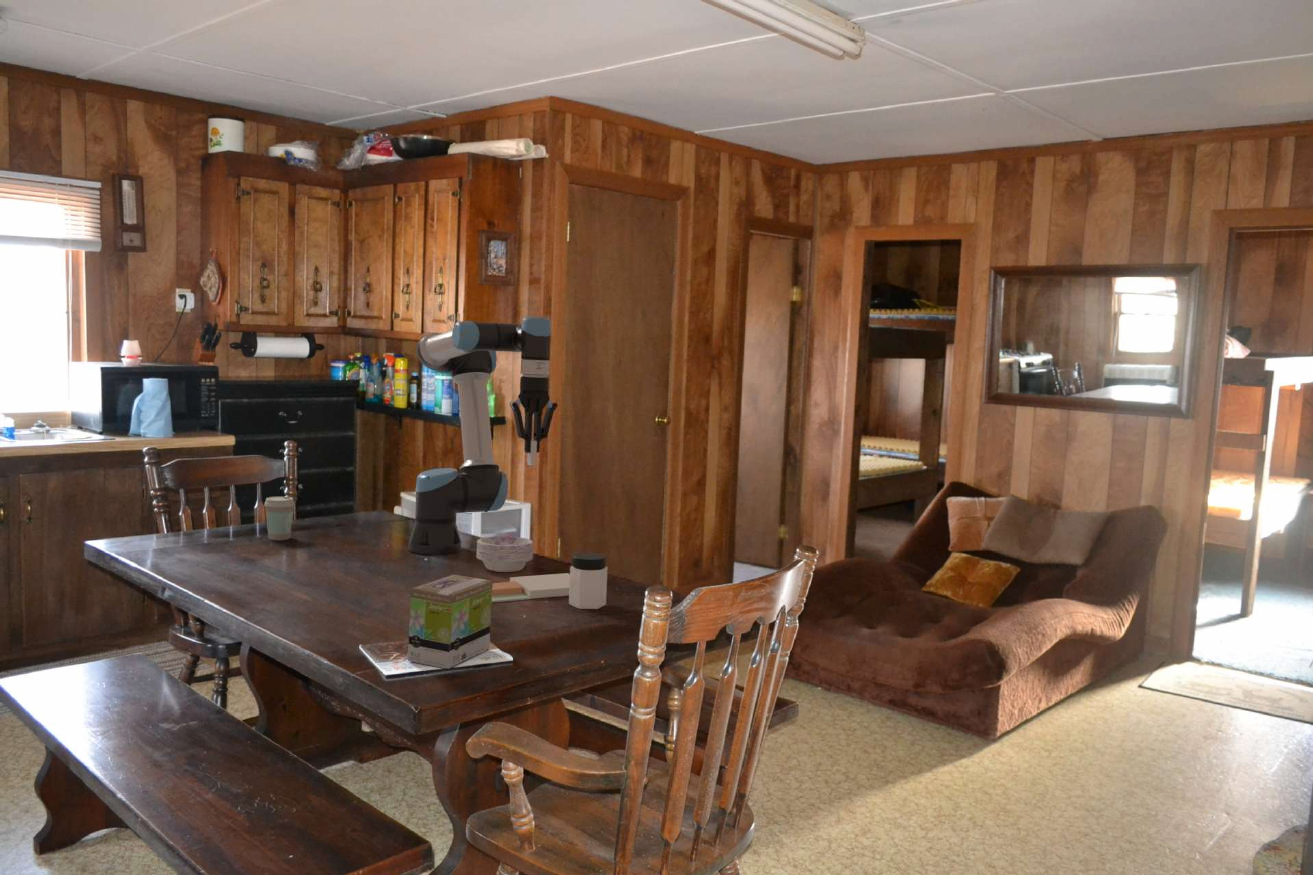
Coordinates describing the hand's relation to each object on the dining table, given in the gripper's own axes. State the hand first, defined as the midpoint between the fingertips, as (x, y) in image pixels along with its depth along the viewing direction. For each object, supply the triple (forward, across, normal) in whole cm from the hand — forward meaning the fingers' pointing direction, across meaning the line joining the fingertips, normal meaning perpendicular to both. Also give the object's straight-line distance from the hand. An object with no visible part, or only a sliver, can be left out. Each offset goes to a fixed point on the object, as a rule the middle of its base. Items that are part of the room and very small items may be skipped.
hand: (531, 464), depth 274 cm
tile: (+29, -14, -18) cm, 37 cm away
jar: (+30, +2, -34) cm, 45 cm away
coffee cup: (+30, -54, +62) cm, 87 cm away
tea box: (+30, -40, -60) cm, 78 cm away
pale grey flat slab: (+29, -1, -18) cm, 34 cm away
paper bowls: (+30, -4, +7) cm, 31 cm away
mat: (+29, -17, -18) cm, 38 cm away
